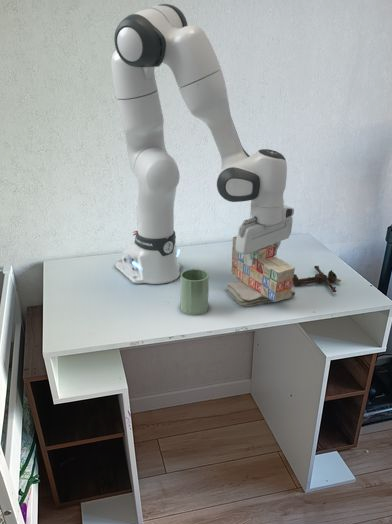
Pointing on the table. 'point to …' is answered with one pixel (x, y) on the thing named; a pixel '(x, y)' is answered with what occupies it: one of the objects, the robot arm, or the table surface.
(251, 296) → the washcloth
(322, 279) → the brown toy monkey
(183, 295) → the pencil cup
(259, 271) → the stack of blocks
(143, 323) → the table surface
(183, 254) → the table surface
